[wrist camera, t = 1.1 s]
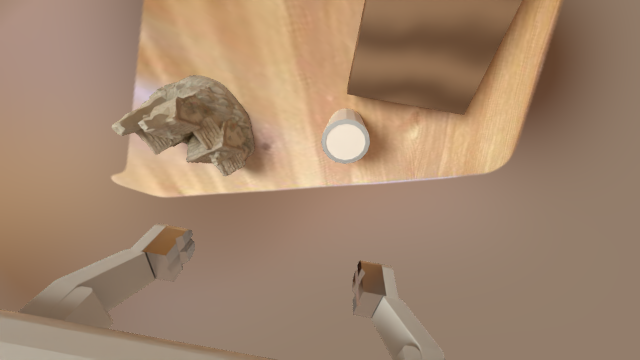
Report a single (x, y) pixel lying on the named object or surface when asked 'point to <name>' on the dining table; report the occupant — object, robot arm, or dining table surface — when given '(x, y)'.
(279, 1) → the dining table surface
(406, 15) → the walnut block
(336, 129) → the white cup
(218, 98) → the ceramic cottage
